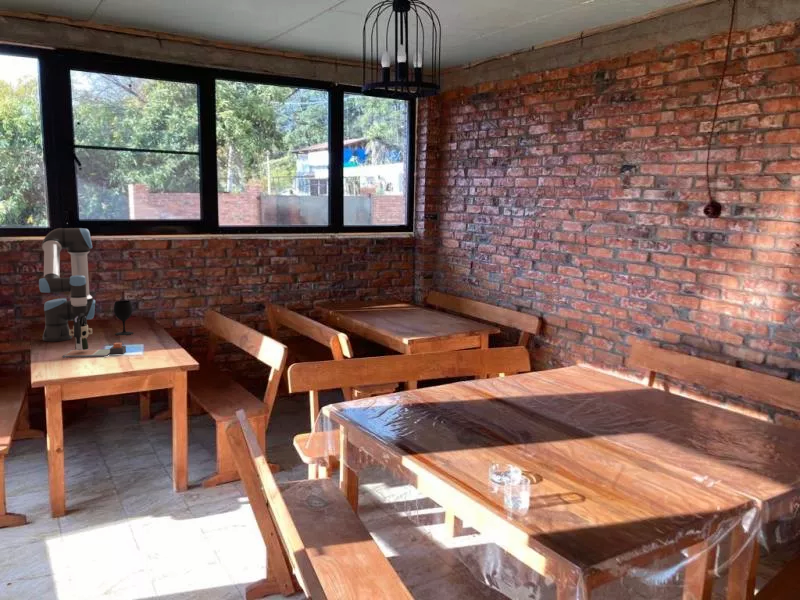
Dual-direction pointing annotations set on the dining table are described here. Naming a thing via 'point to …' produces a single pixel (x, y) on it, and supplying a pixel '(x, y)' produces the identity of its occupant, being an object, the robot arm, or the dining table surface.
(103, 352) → the picture board
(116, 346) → the button cap
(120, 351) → the button housing
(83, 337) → the character mug
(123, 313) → the wine glass
